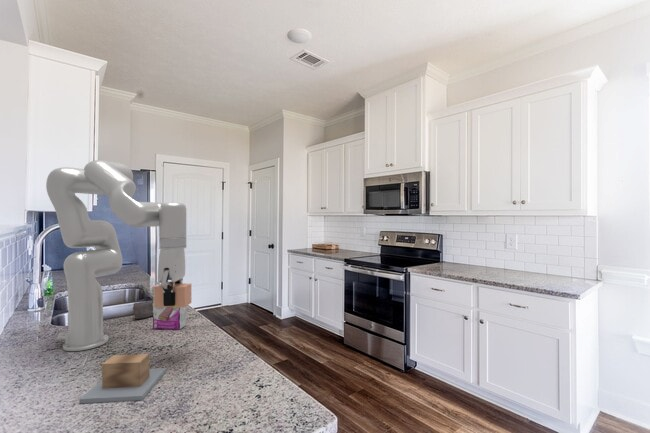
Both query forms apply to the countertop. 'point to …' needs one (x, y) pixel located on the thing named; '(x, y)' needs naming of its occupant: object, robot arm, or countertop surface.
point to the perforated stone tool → (143, 309)
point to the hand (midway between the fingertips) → (173, 302)
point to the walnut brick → (125, 371)
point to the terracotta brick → (180, 295)
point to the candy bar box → (168, 317)
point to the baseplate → (123, 390)
